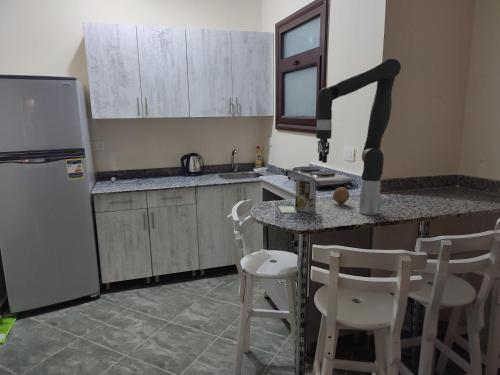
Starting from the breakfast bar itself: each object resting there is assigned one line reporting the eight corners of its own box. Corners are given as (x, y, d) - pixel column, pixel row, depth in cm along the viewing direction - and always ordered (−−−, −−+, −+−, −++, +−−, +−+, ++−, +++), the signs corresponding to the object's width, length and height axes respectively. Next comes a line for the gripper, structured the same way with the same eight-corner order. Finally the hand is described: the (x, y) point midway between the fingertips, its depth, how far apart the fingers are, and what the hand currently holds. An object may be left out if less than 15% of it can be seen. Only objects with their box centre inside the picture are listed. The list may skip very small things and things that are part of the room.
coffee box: (315, 210, 187) (317, 180, 184) (309, 213, 182) (310, 181, 179) (301, 207, 193) (302, 178, 190) (294, 209, 188) (295, 179, 185)
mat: (293, 207, 193) (293, 206, 193) (297, 213, 181) (297, 212, 181) (278, 207, 193) (278, 206, 193) (281, 213, 181) (281, 212, 181)
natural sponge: (349, 206, 195) (350, 189, 193) (332, 206, 197) (333, 188, 195) (348, 203, 204) (349, 186, 202) (332, 202, 206) (333, 185, 204)
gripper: (335, 129, 173) (333, 163, 176) (327, 128, 187) (326, 160, 190) (320, 129, 173) (318, 163, 176) (313, 128, 187) (312, 160, 190)
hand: (322, 161), depth 183 cm, fingers open, 6 cm apart
